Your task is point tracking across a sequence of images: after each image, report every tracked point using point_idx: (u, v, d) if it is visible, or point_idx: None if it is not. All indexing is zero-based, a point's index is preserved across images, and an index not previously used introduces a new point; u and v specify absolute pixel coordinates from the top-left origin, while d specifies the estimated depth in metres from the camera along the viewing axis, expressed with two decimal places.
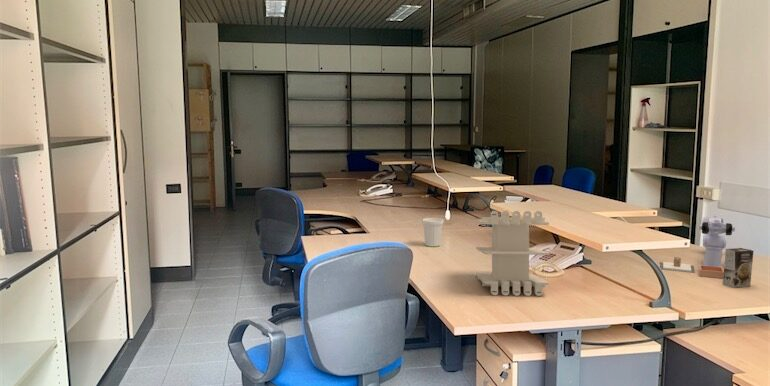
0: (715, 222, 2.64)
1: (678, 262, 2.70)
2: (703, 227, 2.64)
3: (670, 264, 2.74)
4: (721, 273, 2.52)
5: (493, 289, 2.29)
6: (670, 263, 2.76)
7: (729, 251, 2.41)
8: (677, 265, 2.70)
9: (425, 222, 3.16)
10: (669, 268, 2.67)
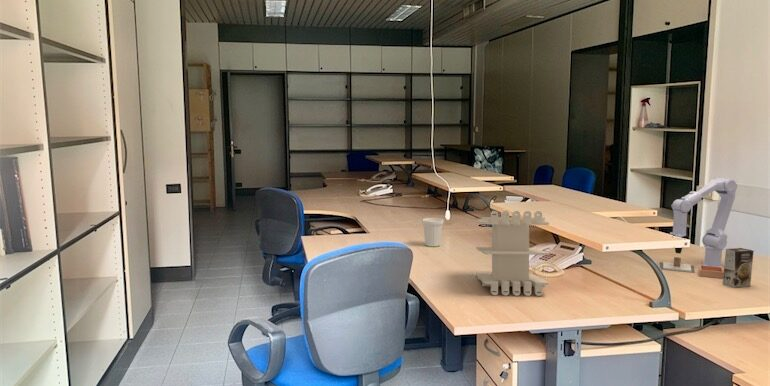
0: None
1: (678, 262, 2.70)
2: None
3: (670, 264, 2.74)
4: (721, 273, 2.52)
5: (493, 289, 2.29)
6: (670, 263, 2.76)
7: (729, 251, 2.41)
8: (677, 265, 2.70)
9: (425, 222, 3.16)
10: (669, 268, 2.67)
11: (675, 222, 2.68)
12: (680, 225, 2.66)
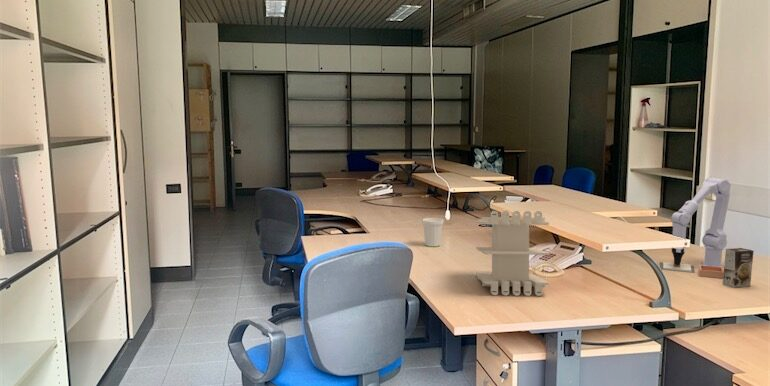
0: None
1: None
2: None
3: (670, 264, 2.74)
4: (721, 273, 2.52)
5: (493, 289, 2.29)
6: (670, 263, 2.76)
7: (729, 251, 2.41)
8: (677, 265, 2.70)
9: (425, 222, 3.16)
10: (669, 268, 2.67)
11: (674, 235, 2.68)
12: None
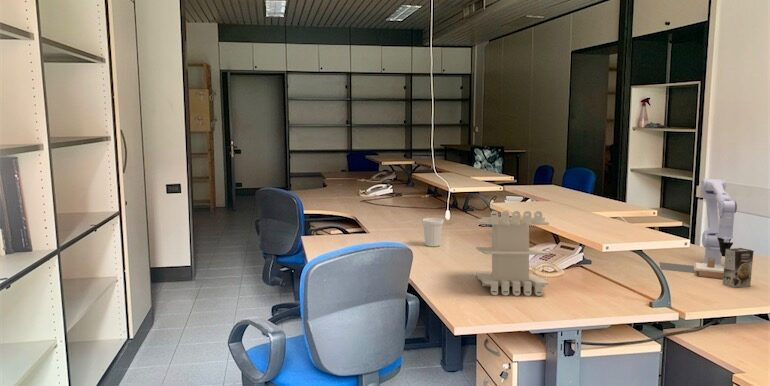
0: None
1: (712, 263, 2.56)
2: None
3: (703, 265, 2.60)
4: (721, 273, 2.52)
5: (493, 289, 2.29)
6: (703, 264, 2.62)
7: (729, 251, 2.41)
8: (711, 266, 2.56)
9: (425, 222, 3.16)
10: (702, 269, 2.54)
11: (728, 225, 2.55)
12: (727, 227, 2.56)
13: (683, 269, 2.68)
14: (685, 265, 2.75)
